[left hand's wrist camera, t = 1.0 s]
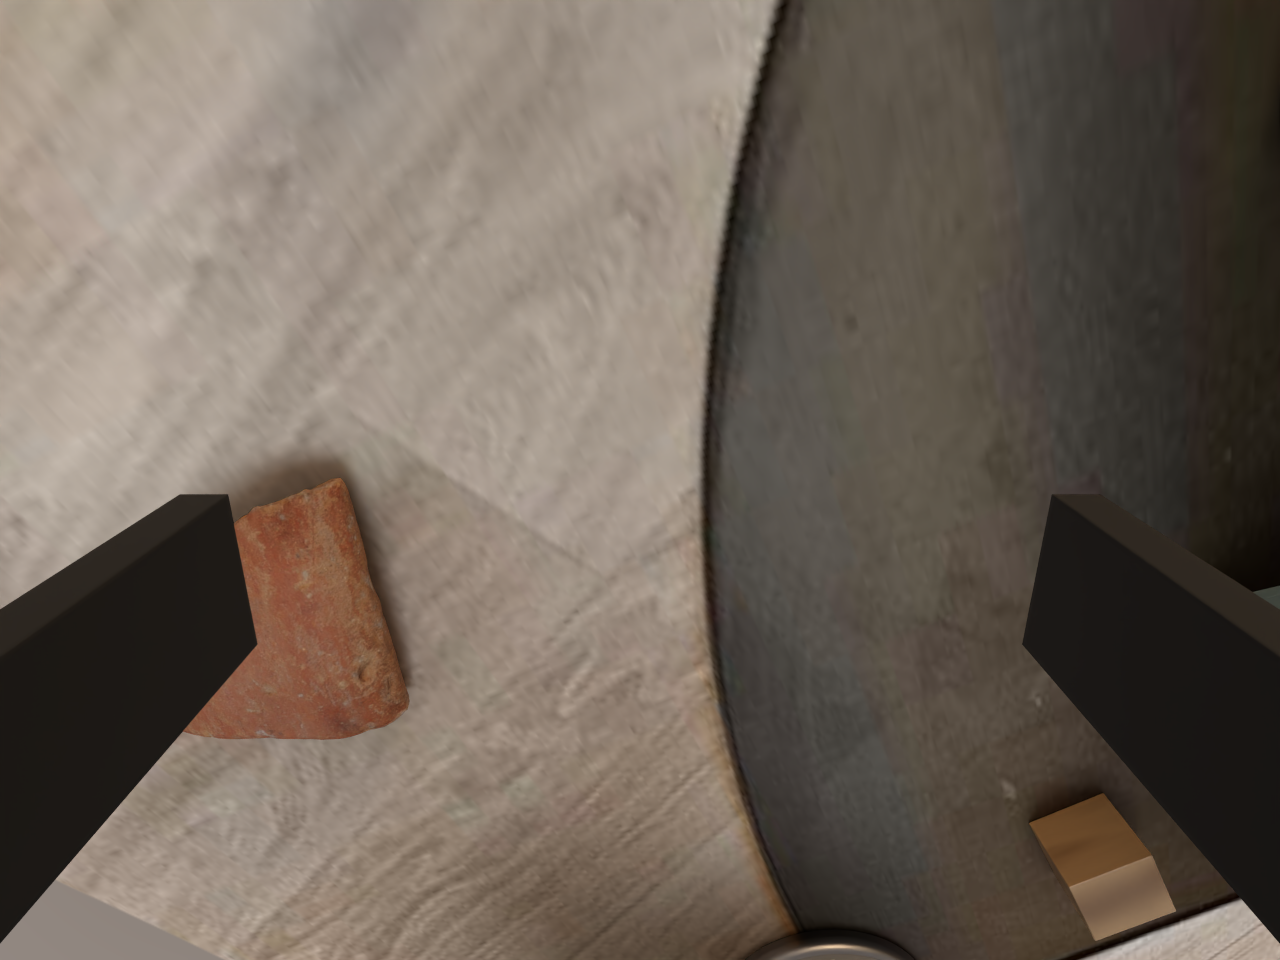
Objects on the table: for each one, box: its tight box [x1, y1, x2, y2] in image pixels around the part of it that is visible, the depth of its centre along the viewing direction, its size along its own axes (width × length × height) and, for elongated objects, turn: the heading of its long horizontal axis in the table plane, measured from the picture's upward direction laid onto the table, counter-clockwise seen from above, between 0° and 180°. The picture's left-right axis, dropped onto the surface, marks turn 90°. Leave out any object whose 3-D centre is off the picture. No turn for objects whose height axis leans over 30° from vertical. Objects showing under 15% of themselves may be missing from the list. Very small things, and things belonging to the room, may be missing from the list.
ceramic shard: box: [183, 478, 409, 740], centre depth 42 cm, size 15×6×15 cm
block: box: [1029, 793, 1176, 941], centre depth 48 cm, size 5×5×5 cm
